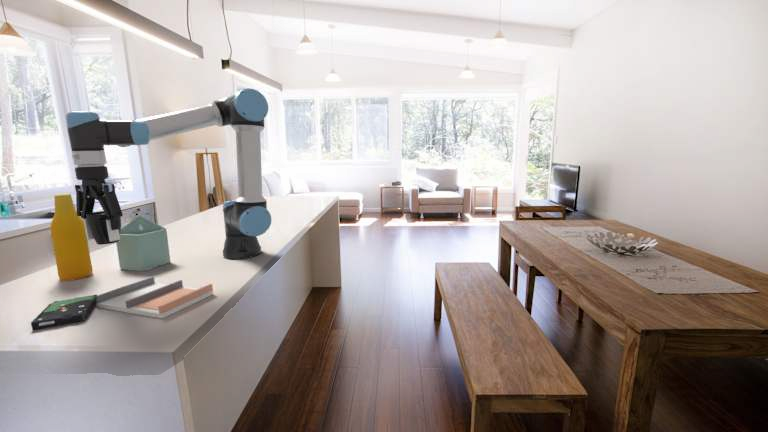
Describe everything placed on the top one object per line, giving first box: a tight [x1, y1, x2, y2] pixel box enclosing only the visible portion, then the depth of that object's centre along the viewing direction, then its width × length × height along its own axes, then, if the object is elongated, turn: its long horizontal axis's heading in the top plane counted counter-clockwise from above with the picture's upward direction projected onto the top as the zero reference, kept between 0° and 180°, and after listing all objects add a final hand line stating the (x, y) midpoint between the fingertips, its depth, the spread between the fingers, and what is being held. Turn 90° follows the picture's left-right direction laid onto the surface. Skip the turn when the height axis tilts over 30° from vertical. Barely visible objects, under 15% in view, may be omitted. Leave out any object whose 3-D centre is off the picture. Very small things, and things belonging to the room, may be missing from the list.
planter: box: [115, 214, 171, 272], centre depth 134 cm, size 16×8×20 cm, turn 117°
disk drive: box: [30, 294, 98, 331], centre depth 96 cm, size 10×3×15 cm
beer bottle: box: [50, 193, 93, 282], centre depth 125 cm, size 9×9×29 cm
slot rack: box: [95, 276, 214, 319], centre depth 104 cm, size 17×24×3 cm
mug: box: [86, 210, 122, 245], centre depth 110 cm, size 8×12×10 cm
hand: (103, 239), depth 111 cm, fingers closed on mug, 9 cm apart
